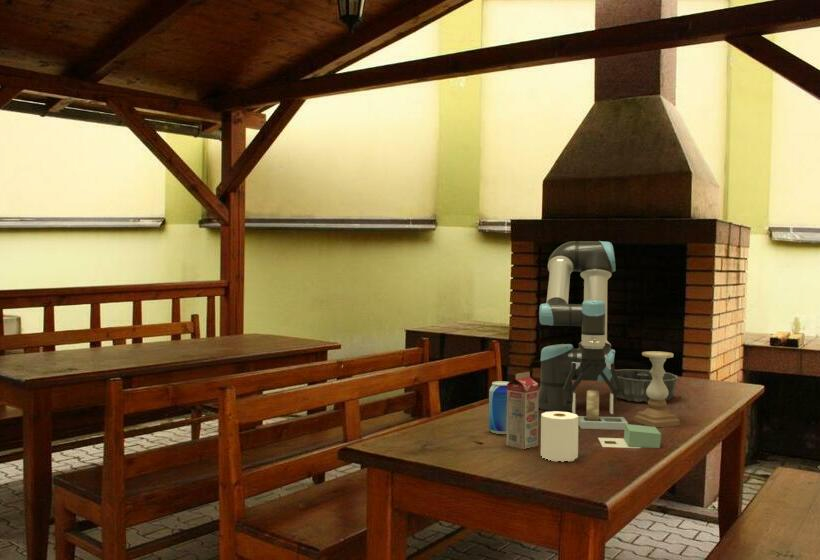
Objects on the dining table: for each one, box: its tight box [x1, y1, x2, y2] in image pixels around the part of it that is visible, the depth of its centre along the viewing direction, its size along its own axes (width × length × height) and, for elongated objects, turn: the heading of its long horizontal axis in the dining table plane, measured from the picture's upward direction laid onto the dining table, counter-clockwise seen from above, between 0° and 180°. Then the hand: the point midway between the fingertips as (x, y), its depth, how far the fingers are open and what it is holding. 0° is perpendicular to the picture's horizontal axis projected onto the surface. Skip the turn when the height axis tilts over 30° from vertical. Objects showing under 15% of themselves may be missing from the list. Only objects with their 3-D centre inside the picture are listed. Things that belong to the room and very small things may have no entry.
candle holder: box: [633, 350, 681, 429], centre depth 256 cm, size 11×11×24 cm
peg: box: [585, 389, 600, 421], centre depth 251 cm, size 4×4×12 cm
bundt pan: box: [609, 368, 679, 404], centre depth 299 cm, size 26×26×10 cm
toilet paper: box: [540, 411, 579, 463], centre depth 214 cm, size 10×10×12 cm
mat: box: [597, 437, 642, 449], centre depth 229 cm, size 11×11×1 cm
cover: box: [623, 423, 662, 449], centre depth 228 cm, size 9×9×4 cm
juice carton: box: [506, 371, 540, 449], centre depth 226 cm, size 7×7×22 cm
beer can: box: [488, 380, 510, 435], centre depth 243 cm, size 8×8×16 cm
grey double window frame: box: [577, 415, 629, 431], centre depth 251 cm, size 15×9×2 cm, turn 83°
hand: (592, 412), depth 251 cm, fingers open, 11 cm apart
